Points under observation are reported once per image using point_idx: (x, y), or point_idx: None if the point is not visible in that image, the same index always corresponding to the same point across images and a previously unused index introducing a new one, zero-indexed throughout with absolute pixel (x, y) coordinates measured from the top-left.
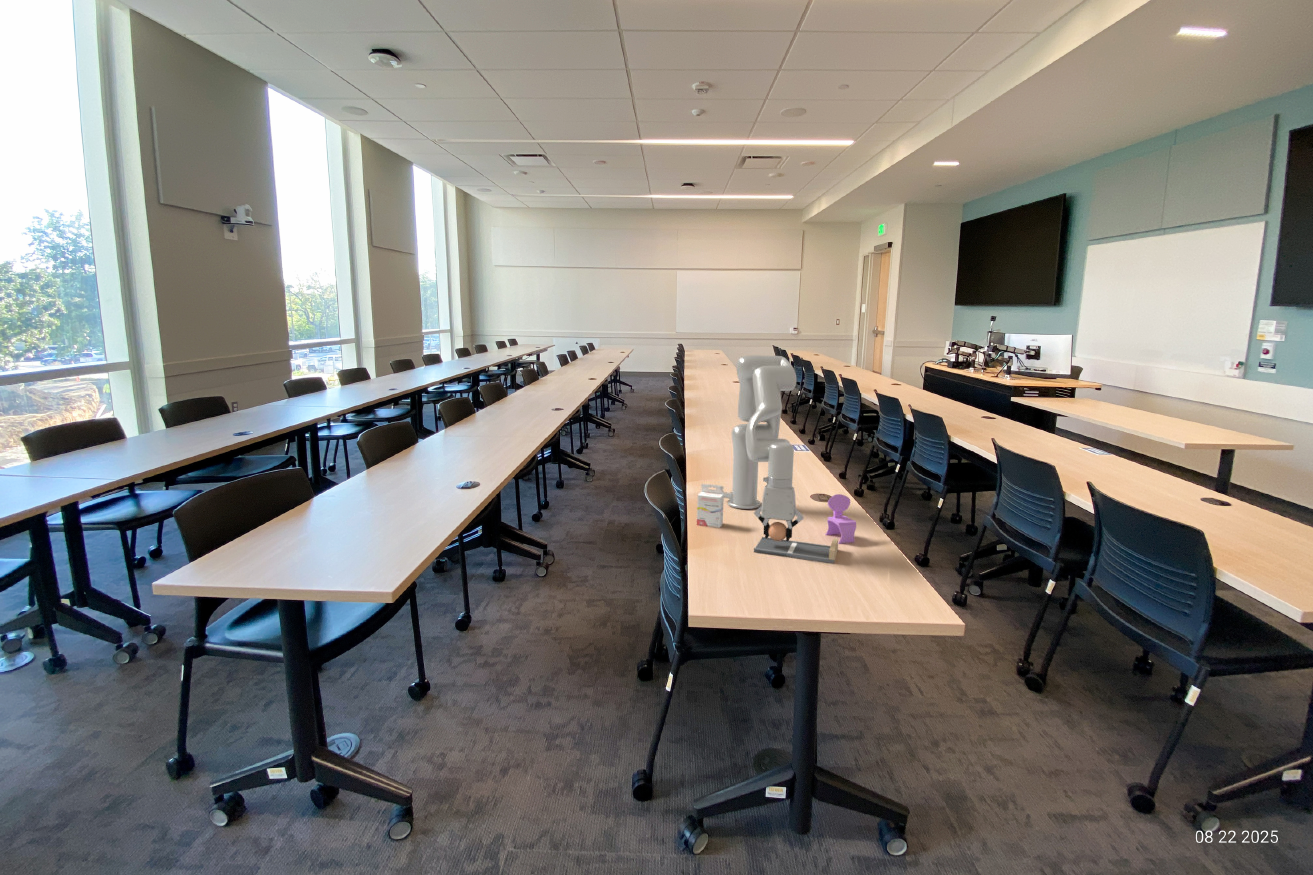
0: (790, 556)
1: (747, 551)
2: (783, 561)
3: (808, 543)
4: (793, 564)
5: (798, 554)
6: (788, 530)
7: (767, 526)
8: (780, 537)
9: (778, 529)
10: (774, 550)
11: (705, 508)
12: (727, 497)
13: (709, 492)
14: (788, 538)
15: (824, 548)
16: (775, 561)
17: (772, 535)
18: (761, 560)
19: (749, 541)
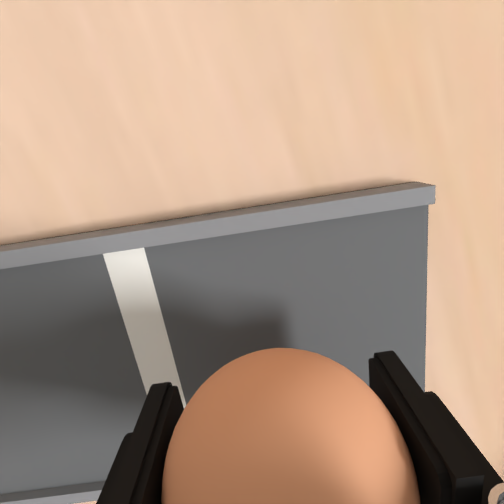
0: (109, 230)
1: (470, 169)
2: (117, 102)
3: (93, 491)
4: (12, 77)
5: (33, 252)
6: (110, 498)
7: (448, 486)
8: (218, 370)
9: (244, 453)
10: (259, 260)
11: None
12: None
13: None
14: (147, 406)
15: None
16: (176, 59)
17: (314, 358)
18: (298, 6)
19: (493, 376)
